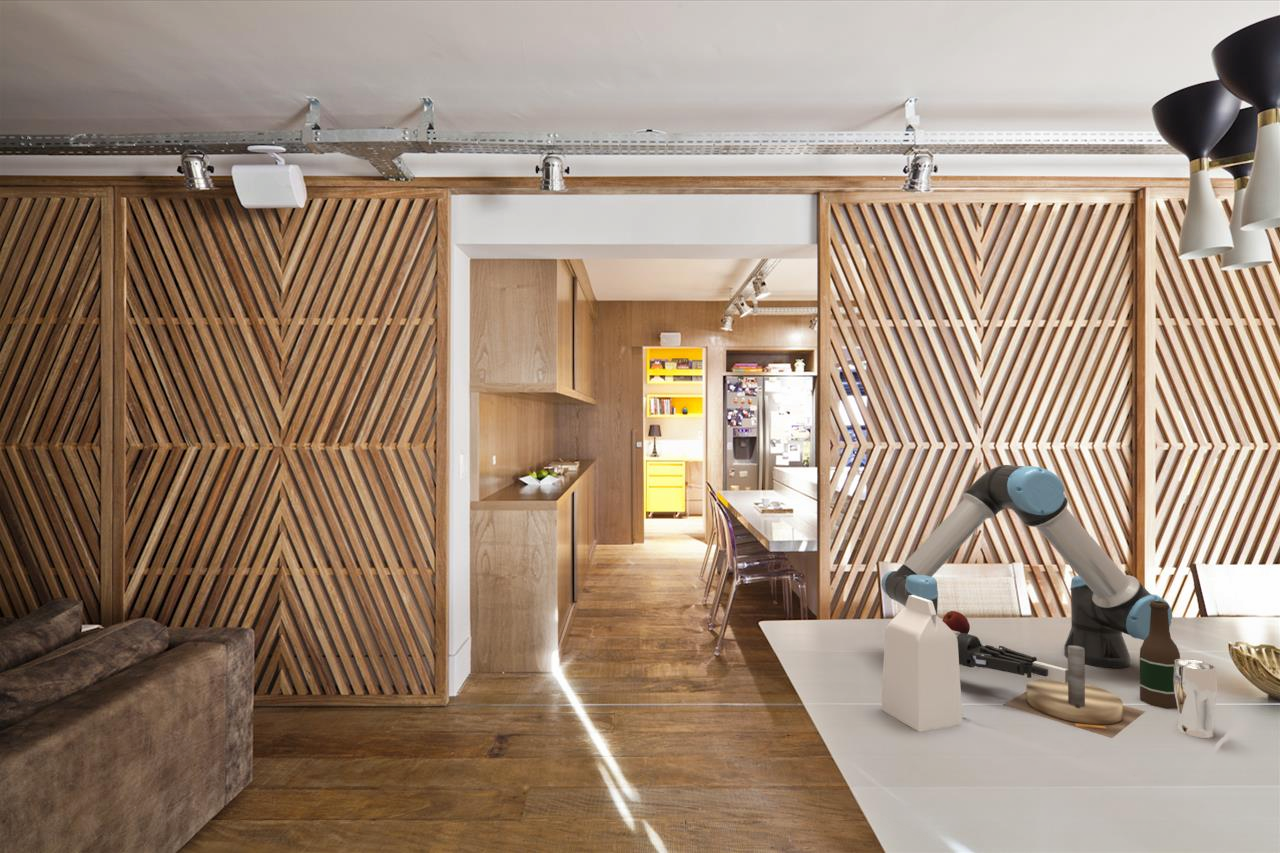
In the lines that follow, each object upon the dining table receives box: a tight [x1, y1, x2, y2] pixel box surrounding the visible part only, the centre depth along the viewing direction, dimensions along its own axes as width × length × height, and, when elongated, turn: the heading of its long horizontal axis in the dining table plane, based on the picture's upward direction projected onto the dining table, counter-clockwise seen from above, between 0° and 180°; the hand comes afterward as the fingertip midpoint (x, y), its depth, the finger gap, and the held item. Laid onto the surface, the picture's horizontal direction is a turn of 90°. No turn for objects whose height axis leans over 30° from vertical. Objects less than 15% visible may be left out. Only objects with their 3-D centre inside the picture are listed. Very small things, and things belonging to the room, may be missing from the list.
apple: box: [941, 610, 971, 634], centre depth 205 cm, size 7×8×8 cm
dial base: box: [1002, 691, 1146, 739], centre depth 148 cm, size 21×21×2 cm
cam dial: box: [1025, 646, 1124, 724], centre depth 148 cm, size 18×18×15 cm
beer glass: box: [1173, 658, 1218, 739], centre depth 137 cm, size 7×7×15 cm
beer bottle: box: [1139, 601, 1181, 710], centre depth 152 cm, size 8×8×24 cm
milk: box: [880, 595, 964, 732], centre depth 147 cm, size 12×12×26 cm
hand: (1066, 676), depth 144 cm, fingers closed
